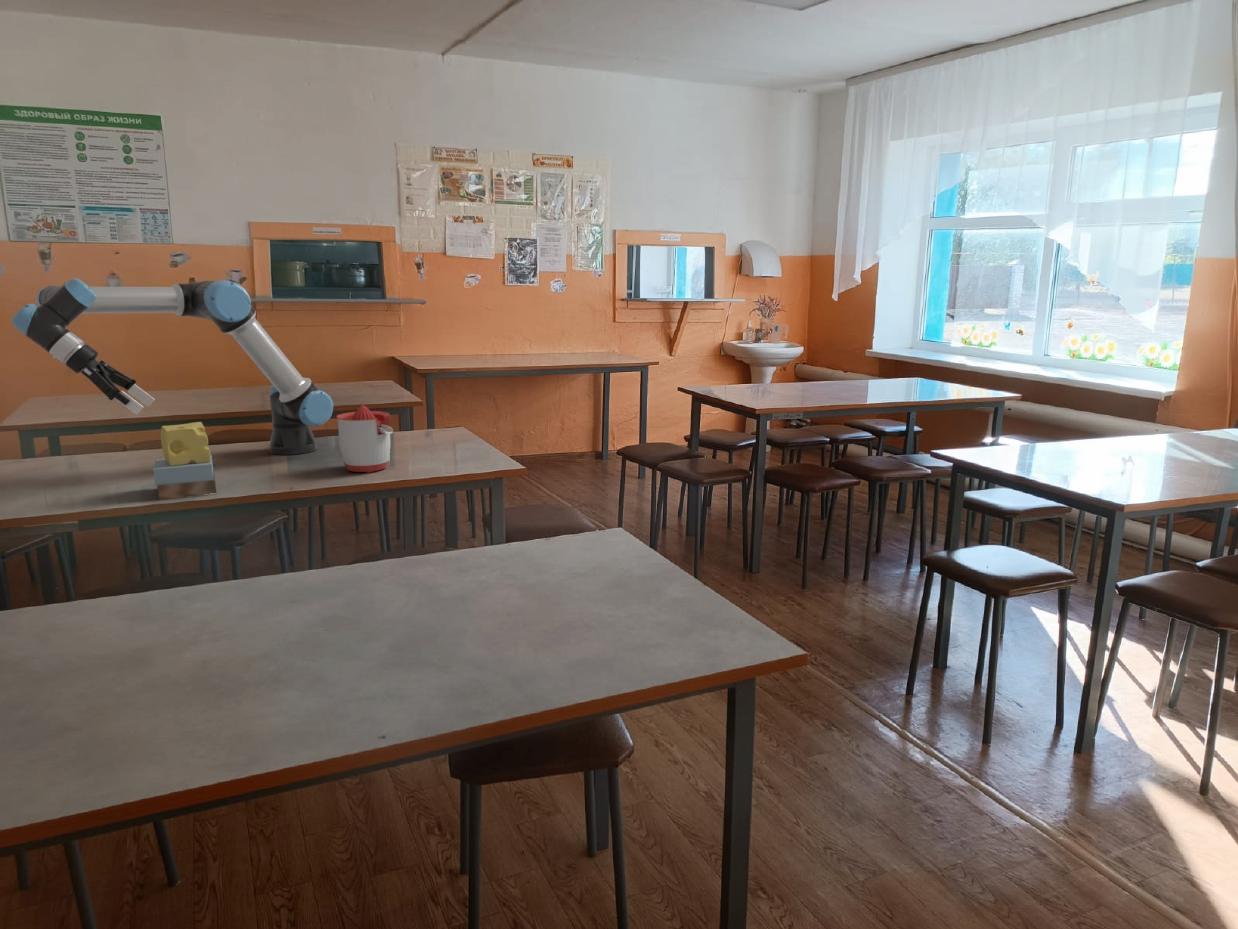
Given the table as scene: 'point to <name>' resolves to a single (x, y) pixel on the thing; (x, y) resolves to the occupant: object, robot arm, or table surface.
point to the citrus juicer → (364, 439)
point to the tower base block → (186, 489)
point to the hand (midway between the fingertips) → (146, 407)
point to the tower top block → (181, 472)
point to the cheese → (185, 444)
